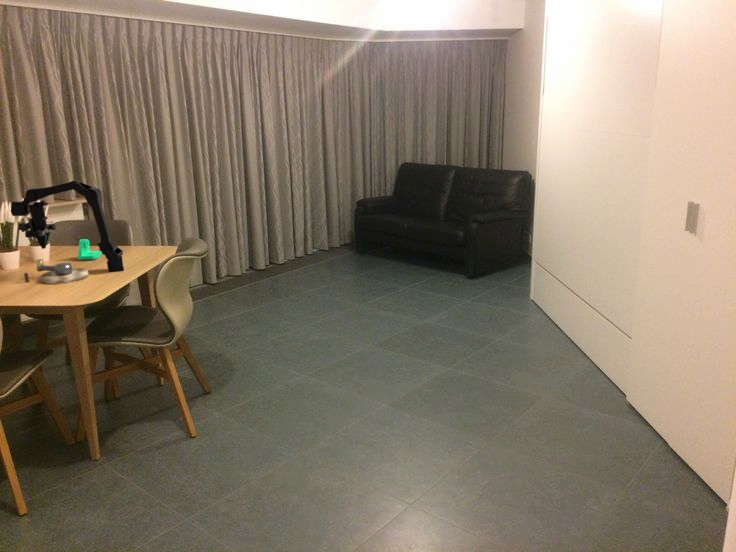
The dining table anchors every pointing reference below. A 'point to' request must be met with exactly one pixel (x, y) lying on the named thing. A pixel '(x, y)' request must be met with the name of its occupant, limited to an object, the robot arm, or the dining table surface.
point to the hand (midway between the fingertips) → (43, 248)
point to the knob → (55, 267)
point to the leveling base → (61, 276)
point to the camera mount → (87, 250)
